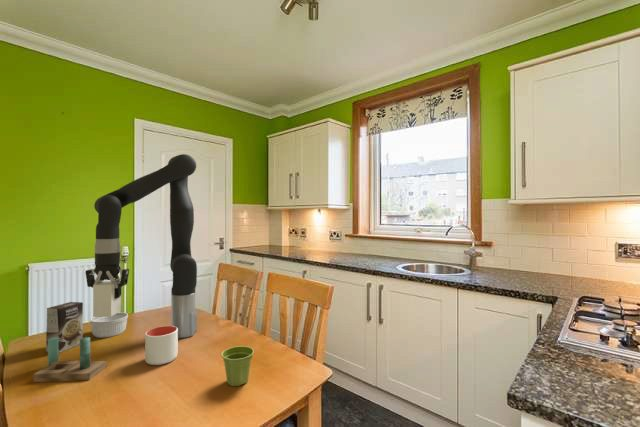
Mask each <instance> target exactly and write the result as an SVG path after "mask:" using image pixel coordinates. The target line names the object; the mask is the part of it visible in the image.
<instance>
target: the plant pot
mask: <svg viewBox="0 0 640 427" xmlns="http://www.w3.org/2000/svg"><path fill="white" fill-rule="evenodd" d="M254 353H255V350H254V348H253V347H250V346H246V345H237V346H231V347H228V348H226V349H224V350H223V351H222V352H221V353H220V354H221V358H222V359H223V362H224V369H225V376H226V382H227V384H228V385H229V386H232V387H240V386H241V385H244V384H246V383H247V382H248V381H249V376H250V375H249V374H250V367H251V363H252V358H253V355H254Z"/></svg>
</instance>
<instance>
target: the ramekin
mask: <svg viewBox="0 0 640 427" xmlns="http://www.w3.org/2000/svg"><path fill="white" fill-rule="evenodd" d="M128 318H129V315H128V313H127V312H122V311H120V312H119V313H117V314H115V315H113V316H109V317H93V316H92V318H90V320H89V321H90V327H91V333H92V336H93V337H95V338H97V339H98V338H100V339H103V338H111V337H114V336H118V335H121V334H122V333H124V332H125V330H126V328H127V325H128V324H127V323H128Z"/></svg>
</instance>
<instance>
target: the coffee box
mask: <svg viewBox="0 0 640 427" xmlns="http://www.w3.org/2000/svg"><path fill="white" fill-rule="evenodd" d="M83 304H84V302H80V301H68V302H65V303H62V304H58V305H57V304H56V305H53V306H49V307H47V308H46V330H45V331H46V334H45V335H46V337H45V338H46V340H45V341H46V342H45V343H46V344H45V352H47V353H48V339H50V338H55V337H58V354H60V353H62V352H65V351H68V350H70V349H72V348H75V347H77V346H80V339H81V338H83V334H84V333H83V332H84V331H83V330H84V329H83V328H84V326H83V324H84V323H83V320H84V319H83V316H84V315H83V313H84V312H83V310H84V307H83V306H84V305H83Z"/></svg>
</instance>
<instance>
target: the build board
mask: <svg viewBox="0 0 640 427" xmlns="http://www.w3.org/2000/svg"><path fill="white" fill-rule="evenodd" d="M78 363H80V360H58V361H55V362H53V363H51V364H50V365H48V364H47V366H45V367H43V368H42V369H40V370H37V371H36V372H34V373H33V382H34V383H38V382H39V383H41V382H42V383H44V382H63V381H62V374H63V373H65V372H66V371H68V370H69V369H71V368H72V367H74V366H75V365H77V364H78Z"/></svg>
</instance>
